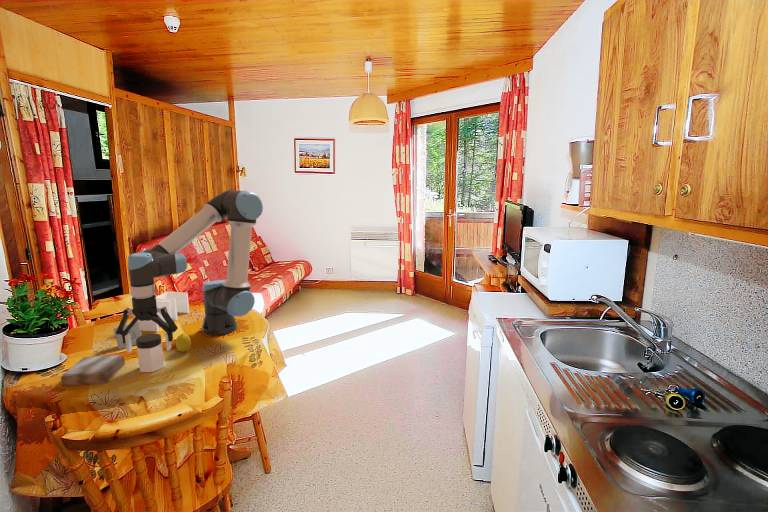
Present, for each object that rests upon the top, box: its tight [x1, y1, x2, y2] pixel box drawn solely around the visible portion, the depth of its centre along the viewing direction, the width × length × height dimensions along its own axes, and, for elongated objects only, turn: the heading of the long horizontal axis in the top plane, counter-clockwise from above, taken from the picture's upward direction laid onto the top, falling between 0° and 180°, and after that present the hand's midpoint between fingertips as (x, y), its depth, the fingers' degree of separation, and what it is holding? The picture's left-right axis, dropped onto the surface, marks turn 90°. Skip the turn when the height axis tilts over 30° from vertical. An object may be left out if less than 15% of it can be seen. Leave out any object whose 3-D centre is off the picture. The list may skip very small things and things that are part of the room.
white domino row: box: [132, 291, 190, 332], centre depth 198 cm, size 25×11×11 cm, turn 173°
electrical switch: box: [113, 322, 142, 350], centre depth 172 cm, size 9×5×9 cm, turn 141°
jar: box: [135, 333, 165, 373], centre depth 153 cm, size 9×8×12 cm
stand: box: [60, 354, 126, 387], centre depth 148 cm, size 14×14×4 cm
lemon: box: [175, 333, 192, 353], centre depth 166 cm, size 6×6×8 cm
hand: (149, 350), depth 152 cm, fingers open, 13 cm apart
